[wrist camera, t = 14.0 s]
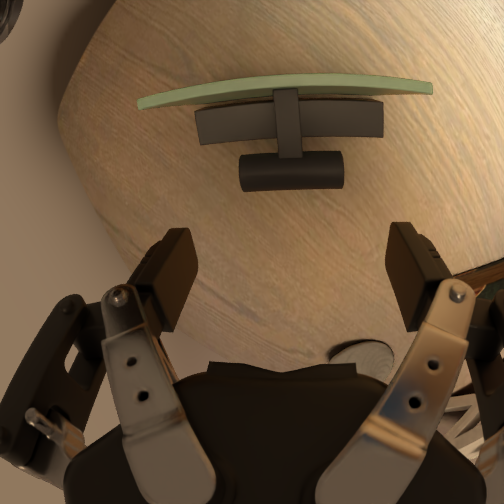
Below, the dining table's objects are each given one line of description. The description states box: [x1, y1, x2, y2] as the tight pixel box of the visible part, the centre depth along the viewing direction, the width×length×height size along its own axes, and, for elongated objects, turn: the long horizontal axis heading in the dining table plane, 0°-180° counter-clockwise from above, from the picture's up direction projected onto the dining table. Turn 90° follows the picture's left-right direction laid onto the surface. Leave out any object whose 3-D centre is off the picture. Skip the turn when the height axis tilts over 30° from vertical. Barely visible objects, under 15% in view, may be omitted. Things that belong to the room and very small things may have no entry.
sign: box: [137, 73, 433, 192], centre depth 17 cm, size 14×12×6 cm
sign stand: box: [194, 98, 384, 145], centre depth 22 cm, size 15×3×3 cm, turn 96°
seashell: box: [329, 341, 394, 382], centre depth 38 cm, size 12×6×10 cm
